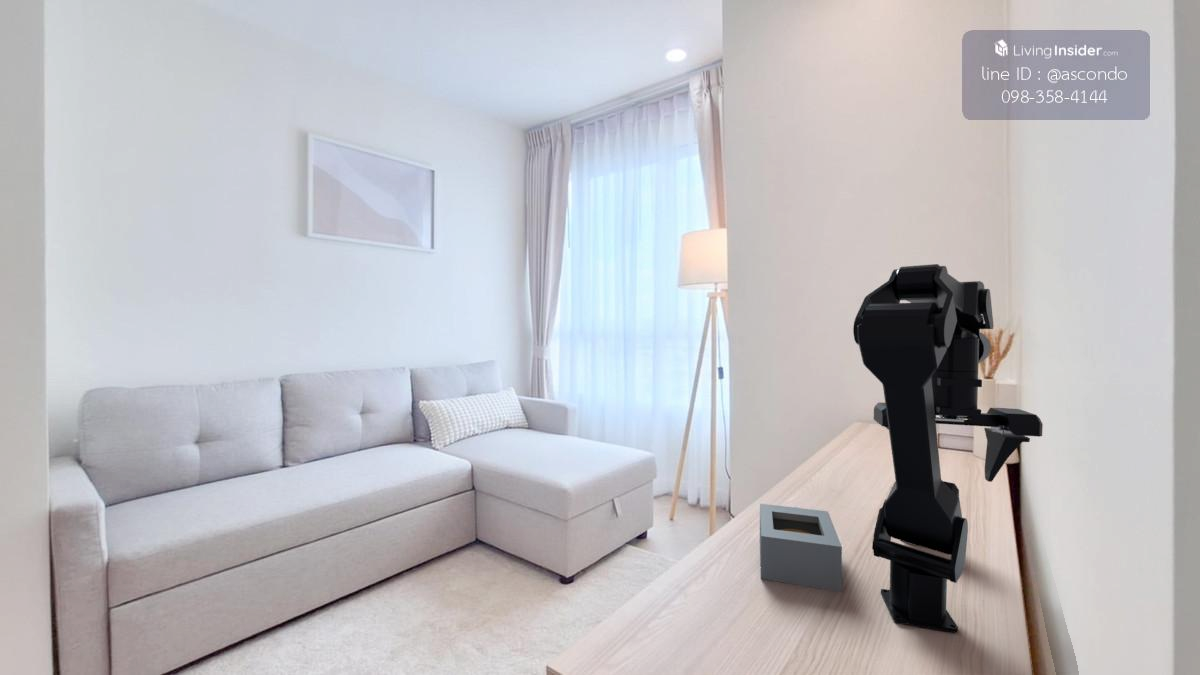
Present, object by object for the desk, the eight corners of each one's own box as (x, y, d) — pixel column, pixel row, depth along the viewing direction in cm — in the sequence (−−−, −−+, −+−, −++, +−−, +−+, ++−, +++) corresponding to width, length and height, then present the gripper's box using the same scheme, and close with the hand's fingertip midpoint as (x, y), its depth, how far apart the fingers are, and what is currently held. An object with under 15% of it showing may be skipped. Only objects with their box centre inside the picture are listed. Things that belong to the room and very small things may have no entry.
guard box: (841, 591, 61) (841, 546, 61) (760, 578, 64) (761, 535, 64) (827, 549, 73) (827, 511, 72) (759, 539, 76) (760, 503, 76)
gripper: (1003, 366, 72) (1000, 467, 72) (866, 363, 77) (864, 456, 78) (1046, 374, 61) (1043, 492, 62) (884, 369, 67) (882, 477, 67)
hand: (950, 477), depth 67 cm, fingers open, 9 cm apart
